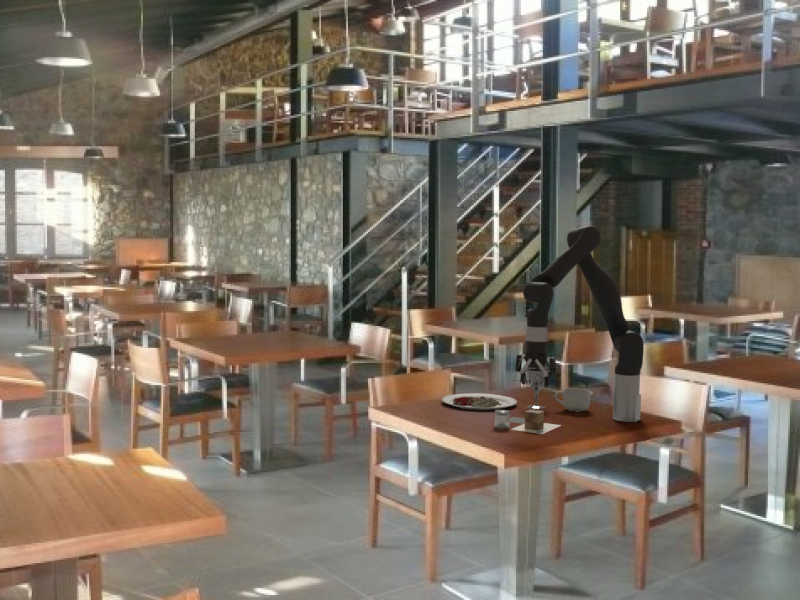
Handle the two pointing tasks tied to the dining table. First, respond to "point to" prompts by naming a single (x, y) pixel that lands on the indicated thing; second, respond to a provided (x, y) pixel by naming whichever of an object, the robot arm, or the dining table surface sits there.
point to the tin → (502, 419)
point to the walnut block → (534, 419)
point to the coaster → (517, 420)
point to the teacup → (574, 399)
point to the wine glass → (535, 384)
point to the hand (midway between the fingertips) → (534, 385)
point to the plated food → (479, 401)
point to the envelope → (546, 428)
